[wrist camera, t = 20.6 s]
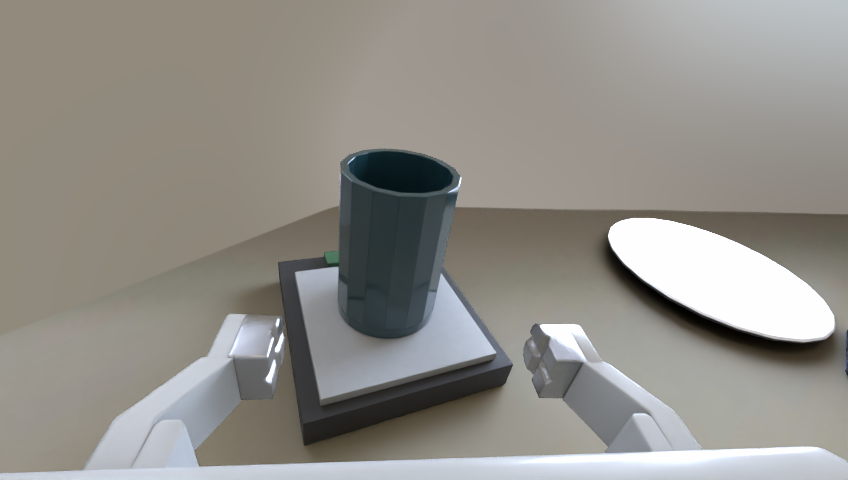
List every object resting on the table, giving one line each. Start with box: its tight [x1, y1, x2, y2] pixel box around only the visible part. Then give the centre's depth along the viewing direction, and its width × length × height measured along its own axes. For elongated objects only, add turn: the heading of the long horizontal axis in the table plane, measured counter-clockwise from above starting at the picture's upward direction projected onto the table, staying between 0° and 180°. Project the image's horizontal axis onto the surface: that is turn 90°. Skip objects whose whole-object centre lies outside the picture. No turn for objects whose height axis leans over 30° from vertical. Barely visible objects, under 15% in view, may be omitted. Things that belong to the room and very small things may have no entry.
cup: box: [337, 149, 461, 339], centre depth 23 cm, size 7×7×10 cm
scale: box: [278, 251, 513, 445], centre depth 27 cm, size 14×13×3 cm
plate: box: [608, 218, 835, 344], centre depth 40 cm, size 21×21×2 cm
